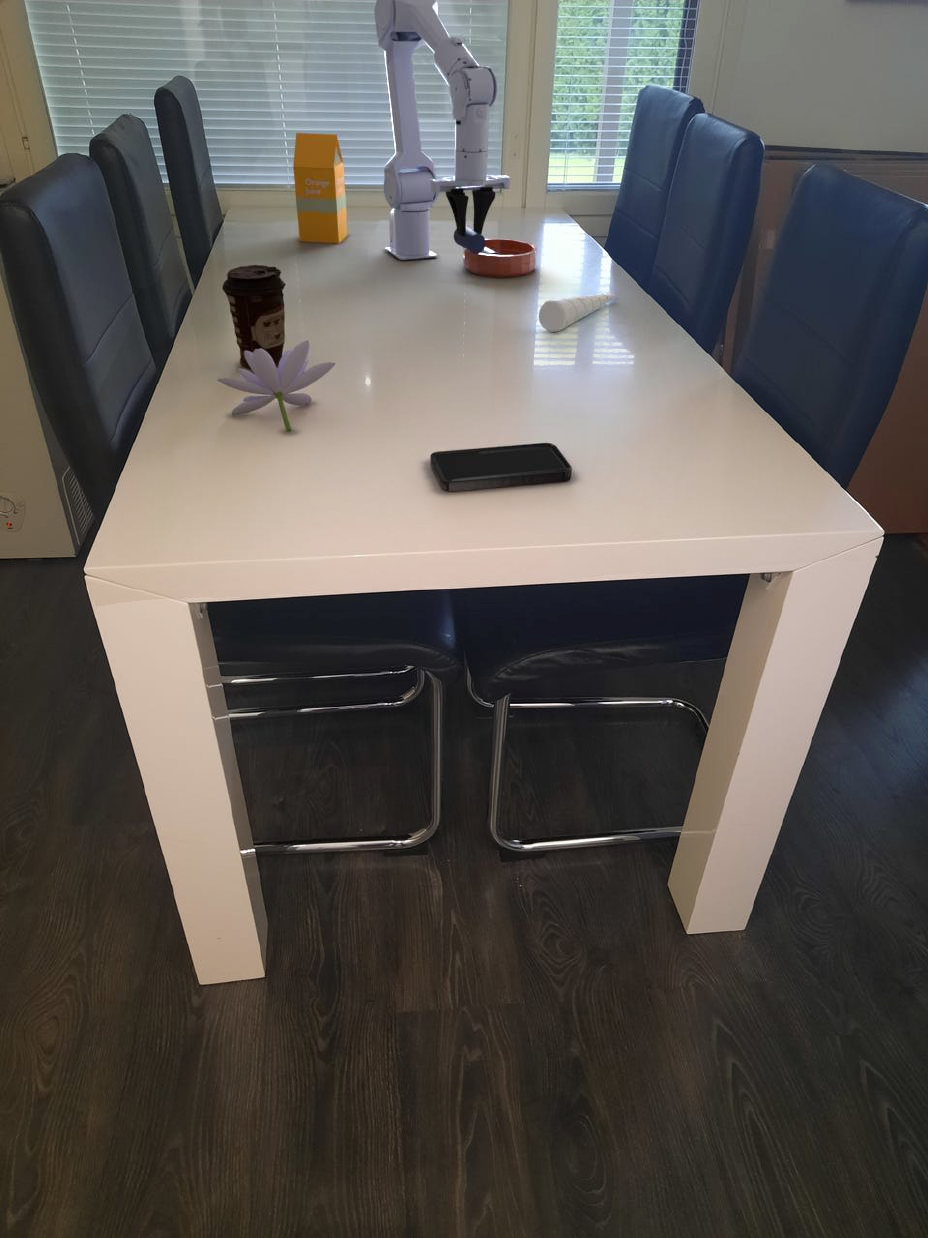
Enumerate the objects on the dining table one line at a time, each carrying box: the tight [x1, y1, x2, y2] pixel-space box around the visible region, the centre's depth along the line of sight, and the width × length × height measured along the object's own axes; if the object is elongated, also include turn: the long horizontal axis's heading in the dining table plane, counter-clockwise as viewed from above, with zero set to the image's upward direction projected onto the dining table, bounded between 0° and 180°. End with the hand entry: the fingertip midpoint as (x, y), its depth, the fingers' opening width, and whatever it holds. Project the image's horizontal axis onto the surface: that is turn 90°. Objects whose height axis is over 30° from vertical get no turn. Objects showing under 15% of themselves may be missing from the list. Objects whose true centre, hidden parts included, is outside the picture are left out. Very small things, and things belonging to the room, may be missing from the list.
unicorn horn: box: [538, 293, 615, 333], centre depth 144 cm, size 5×24×5 cm, turn 142°
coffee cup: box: [221, 264, 287, 372], centre depth 119 cm, size 9×8×13 cm
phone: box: [429, 442, 573, 492], centre depth 97 cm, size 8×1×15 cm
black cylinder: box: [481, 246, 500, 255], centre depth 167 cm, size 7×3×3 cm, turn 24°
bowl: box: [462, 238, 538, 278], centre depth 168 cm, size 14×14×4 cm
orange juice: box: [292, 132, 348, 244], centre depth 181 cm, size 8×9×20 cm
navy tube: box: [453, 226, 486, 254], centre depth 157 cm, size 7×3×3 cm
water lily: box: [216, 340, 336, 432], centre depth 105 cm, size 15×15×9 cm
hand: (469, 233), depth 156 cm, fingers closed on navy tube, 3 cm apart
